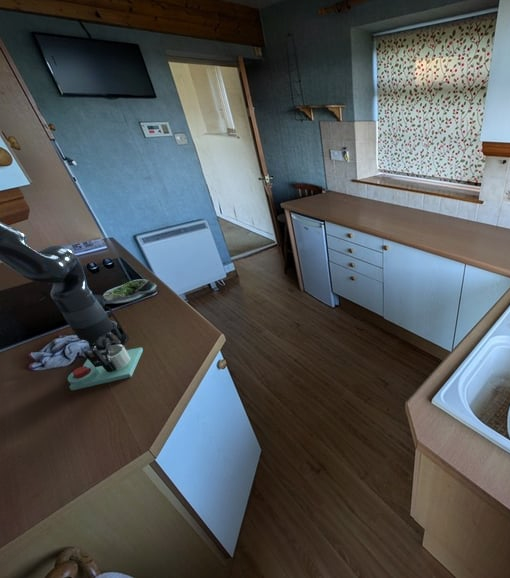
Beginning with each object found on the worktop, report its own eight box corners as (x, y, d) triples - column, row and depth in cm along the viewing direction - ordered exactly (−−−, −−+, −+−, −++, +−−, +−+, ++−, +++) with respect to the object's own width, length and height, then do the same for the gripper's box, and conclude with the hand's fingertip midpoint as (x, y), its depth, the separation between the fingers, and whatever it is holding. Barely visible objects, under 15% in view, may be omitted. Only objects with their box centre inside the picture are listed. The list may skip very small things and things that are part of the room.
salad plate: (112, 313, 112) (106, 303, 110) (91, 300, 120) (85, 290, 117) (164, 290, 127) (160, 281, 124) (143, 280, 134) (138, 271, 132)
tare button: (73, 379, 82) (70, 375, 81) (78, 371, 85) (75, 367, 84) (87, 376, 83) (84, 372, 82) (92, 368, 86) (89, 364, 85)
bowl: (100, 374, 85) (92, 362, 82) (109, 359, 90) (101, 347, 87) (127, 368, 87) (119, 356, 84) (134, 354, 92) (127, 342, 89)
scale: (69, 391, 82) (63, 384, 80) (88, 361, 91) (83, 354, 90) (131, 377, 86) (126, 370, 85) (143, 350, 96) (139, 343, 94)
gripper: (82, 306, 83) (110, 349, 92) (56, 338, 72) (91, 384, 81) (114, 301, 86) (139, 344, 95) (93, 331, 74) (123, 376, 83)
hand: (117, 362), depth 88 cm, fingers closed on bowl, 6 cm apart
